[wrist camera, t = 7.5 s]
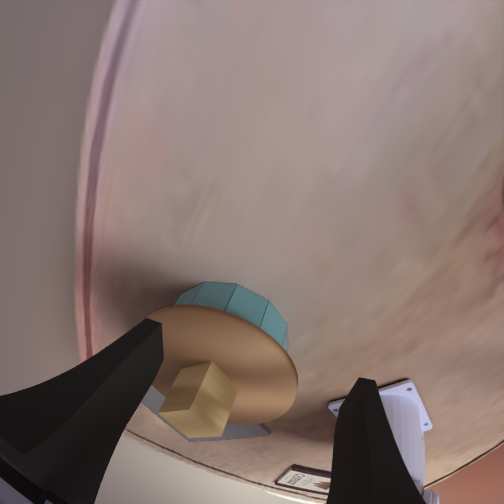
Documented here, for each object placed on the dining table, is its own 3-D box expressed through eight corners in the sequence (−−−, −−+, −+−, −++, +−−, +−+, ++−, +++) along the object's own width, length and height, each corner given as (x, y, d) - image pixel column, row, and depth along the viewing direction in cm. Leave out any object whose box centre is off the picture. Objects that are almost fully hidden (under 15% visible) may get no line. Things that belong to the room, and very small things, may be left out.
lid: (327, 403, 21) (319, 461, 17) (205, 423, 26) (187, 465, 22) (228, 276, 17) (194, 337, 13) (110, 330, 23) (77, 373, 19)
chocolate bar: (377, 501, 38) (274, 484, 39) (377, 496, 39) (276, 479, 40) (408, 484, 33) (294, 467, 35) (408, 479, 34) (295, 461, 36)
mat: (270, 432, 32) (270, 435, 31) (190, 439, 38) (189, 441, 37) (193, 358, 28) (191, 361, 28) (120, 378, 34) (118, 381, 34)
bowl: (309, 353, 24) (302, 393, 21) (221, 378, 28) (207, 412, 25) (240, 263, 22) (222, 299, 18) (154, 306, 26) (131, 338, 23)
